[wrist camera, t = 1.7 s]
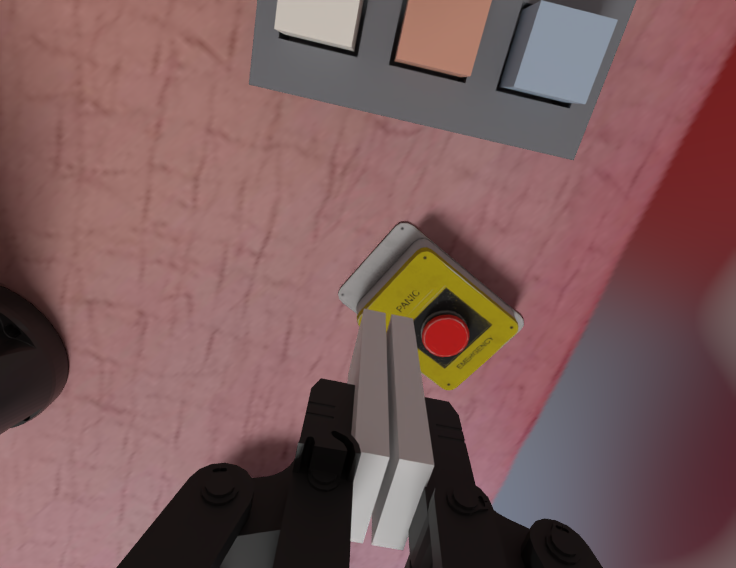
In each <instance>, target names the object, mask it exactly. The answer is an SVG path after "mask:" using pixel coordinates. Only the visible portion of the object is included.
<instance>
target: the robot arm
mask: <svg viewBox="0 0 736 568" xmlns="http://www.w3.org/2000/svg"><path fill="white" fill-rule="evenodd" d="M67 376H68V360H67V355H66V352H65V349H64V346H63V344H62V341H61V339H60V337H59V336H58V334H57V332H56V331H55V329H54V328H53V326H52V325H51V324H50V322H49V321H48V320H47V319H46V318H45V317H44V316H43V315H42V314H41V313H40V312H39V311H38V310H37V309H36V308H35V307H34V306H33V305H31V304H30V303H29V302H27V301H26V300H25V299H23V298H22V297H20V296H19V295H17V294H15V293H14V292H12V291H10V290H8V289H6V288H4V287H2V286H0V434H2V433H3V432H5V431H6V430H8V429H9V428H13V427H16V426H19V425H22V424H24V423H26V422H28V421H30V420H32V419H33V418H35V417H36V416H38V415H39V414H40V413H42V412H43V411H44V410H45V409H46V408H47V407H48V406H49V405H50V404H51V403H52V402H53V401H54V400H55V399H56V398H57V397H58V396H59V395H60V393H61V392H62V390H63V388H64V386H65V384H66V381H67ZM464 441H465V439H464V435H463V432H462V427H461V423H460V419H459V415H458V414H457V412H456V411H455V410H454V408H453V407H452V405H451V404H450V403H449V402H447V401H442V400H437V399H431V398H426V397H424V391H423V384H422V377H421V370H420V363H419V356H418V349H417V342H416V336H415V329H414V322H413V318H408V317H403V316H398V315H393V314H392V315H391V318H390V322H389V326H388V329H387V333H386V313H383V312H378V311H373V310H369V309H364V310H363V315H362V319H361V323H360V327H359V331H358V335H357V340H356V344H355V348H354V352H353V356H352V360H351V364H350V369H349V373H348V381H347V383H342V382H337V381H332V380H327V379H322V378H321V379H320V380H319V381H318V382H317V383H316V384H315V385H314V386H313V387H312V388H311V392H310V397H309V401H308V406H307V410H306V415H305V419H304V424H303V428H302V433H301V437H300V440H299V442H298V446H297V451H296V456H295V459H294V461H293V462H292V464H291V465H290V466H289V467H288V468H286V469H285V470H284V471H282V472H280V473H278V474H275V475H272V476H267V477H259V478H251V477H250V475H249V474H248V473H247V471H245V470H244V469H242V468H240V467H239V466H237V465H233V464H228V463H218V464H211V465H208V466H206V467H204V468H201V469H199V470H198V471H197V472H196V473H194V474H193V475H192V476H191V477H190V478H189V479H188V480H187V482H186V483H185V484H184V485H183V486H182V488H181V489H180V490H179V491H178V493H177V494H176V495H175V496H174V498H173V499H172V500H171V501H170V502H169V504H168V505H167V506H166V507H165V509H164V510H163V511H162V512H161V514H160V515H159V516H158V517H157V518H156V520H155V521H154V522H153V523H152V525H151V526H150V527H149V528H148V530H147V531H146V532H145V533H144V534H143V536H142V537H141V538H140V539H139V541H138V542H137V543H136V544H135V545H134V547H133V548H132V549H131V550H130V552H129V553H128V554H127V555H126V557H125V558H124V559H123V560H122V561H121V563H120V564H119V565H118V566H117V568H349V562H350V541H352V542H357V543H363V541H364V538H365V534H366V531H367V528H368V525H369V522H370V518H371V515H372V545H375V546H381V547H387V548H393V549H399V550H403V549H404V546H405V543H406V541H407V538H408V535H409V548H410V555H409V557H408V560H407V563H406V565H405V568H603V567H602V566H601V564H600V563H599V561H598V560H597V558H596V557H595V555H594V554H593V552H592V551H591V549H590V548H589V546H588V545H587V544H586V542H585V541H584V540H583V539H582V538H581V537H580V535H579V534H577V533H576V532H575V531H574V530H572V529H571V528H570V527H568V526H567V525H564V524H562V523H560V522H558V521H556V520H551V519H541V520H538V521H535V523H534V524H533V525H532V526H531V528H530V529H529V528H526V527H524V526H522V525H520V524H518V523H516V522H513V521H511V520H509V519H507V518H505V517H503V516H502V515H500V514H498V513H497V512H496V511H494V510H493V507H492V505H491V503H490V501H489V498H488V497H487V496H486V495H485V493H484V492H483V491H482V490H481V489H480V488H479V487H477V486H476V485H475V481H474V477H473V473H472V469H471V464H470V460H469V456H468V452H467V448H466V444H465V443H464Z"/></svg>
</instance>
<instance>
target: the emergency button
mask: <svg viewBox="0 0 736 568" xmlns="http://www.w3.org/2000/svg"><path fill="white" fill-rule="evenodd" d="M338 295H339V299H340V300H341V301H342V303H343V304H345V305H346V306H347V307H349V308H350V309H351V310H353V311H354V312H355V313H357V322H358V325H359V326H360V323H361V319H362V315H363V310H364V309H369V310H373V311H378V312H383V313H386V333H387V329H388V326H389V322H390V318H391V315H392V314H393V315H398V316H403V317H408V318H413V322H414V329H415V336H416V342H417V349H418V356H419V363H420V370H421V373H422V374H424V375H425V376H426V377H428V378H429V379H430V380H432V381H433V382H434V383H436V384H437V385H439V386H440V387H441V388H443V389H445V390H453V389H455V388H456V387H458V386H459V385H460V384H461V383H462V382H463V381H464V380H466V379H467V378H468V377H469V376H470V375H471V374H472V373H473V372H475V371H476V370H477V369H478V368H479V367H480V366H481V365H482V364H484V363H485V362H486V361H487V360H488V359H489V358H490V357H491V356H493V355H494V354H495V353H496V352H497V351H498V350H499V349H500V348H502V347H503V346H504V345H505V344H506V343H507V342H508V341H509V340H511V339H512V338H513V337H514V336H515V335H516V334H517V333H518V332H519V331H520V330H521V329H522V327H523V326H524V322H523V319H522V317H521V316H520V315H519V314H518V313H517V312H516V311H515V310H513V309H512V308H511V307H510V306H509V305H507V304H506V303H505V302H504V301H503V300H502V299H500V298H499V297H498V296H497V295H496V294H494V293H493V292H492V291H491V290H490V289H488V288H487V287H486V286H485V285H484V284H482V283H481V282H480V281H479V280H478V279H476V278H475V277H474V276H473V275H472V274H470V273H469V272H468V271H467V270H466V269H464V268H463V267H462V266H461V265H460V264H459V263H457V262H456V261H455V260H454V259H453V258H451V257H450V256H449V255H448V254H447V253H445V252H444V251H443V250H442V249H441V248H439V247H438V246H437V245H436V244H435V243H433V242H432V241H431V240H430V239H429V238H427V237H426V236H425V235H424V234H423V233H421V232H420V231H419V230H418V229H417V228H416V227H414V226H413V225H411V224H409V223H400V224H398V225H396V226H395V227H394V228H393V229H392V231H391V232H390V233H389V234H388V235H387V236H386V237H385V238H384V240H383V241H382V242H381V243H380V244H379V245H378V246H377V247H376V249H375V250H374V251H373V252H372V253H371V254H370V255H369V256H368V258H367V259H366V260H365V261H364V262H363V263H362V264H361V265H360V266H359V268H358V269H357V270H356V271H355V272H354V273H353V274H352V275H351V277H350V278H349V279H348V280H347V281H346V282H345V283H344V284H343V286H342V287H341V288H340V290H339V292H338Z"/></svg>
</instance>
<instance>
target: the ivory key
mask: <svg viewBox="0 0 736 568" xmlns="http://www.w3.org/2000/svg"><path fill="white" fill-rule="evenodd" d="M363 2H364V0H277V9H276V18H275V26H274V29H275V30H277V31H279V32H281V33H283V34H285V35H287V36H292V37H296V38H300V39H304V40H308V41H312V42H316V43H321V44H325V45H329V46H333V47H337V48H341V49H345V50H349V51H355V46H356V40H357V35H358V29H359V24H360V18H361V13H362V7H363Z"/></svg>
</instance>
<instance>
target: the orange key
mask: <svg viewBox="0 0 736 568" xmlns="http://www.w3.org/2000/svg"><path fill="white" fill-rule="evenodd" d="M491 2H492V0H407V4H406V9H405V14H404V18H403V23H402V27H401V32H400V37H399V41H398V46H397V51H396V55H395V60H394V61H395V62H399V63H403V64H407V65H411V66H416V67H420V68H424V69H428V70H432V71H436V72H440V73H444V74H449V75H453V76H457V77H470V76H471V73H472V69H473V66H474V62H475V59H476V55H477V52H478V48H479V44H480V41H481V37H482V34H483V30H484V27H485V23H486V20H487V16H488V12H489V9H490V5H491Z"/></svg>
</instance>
